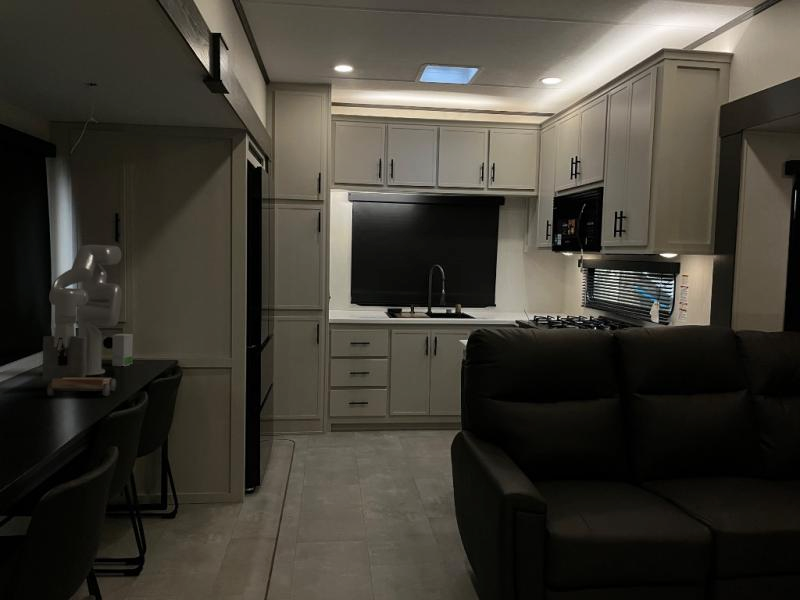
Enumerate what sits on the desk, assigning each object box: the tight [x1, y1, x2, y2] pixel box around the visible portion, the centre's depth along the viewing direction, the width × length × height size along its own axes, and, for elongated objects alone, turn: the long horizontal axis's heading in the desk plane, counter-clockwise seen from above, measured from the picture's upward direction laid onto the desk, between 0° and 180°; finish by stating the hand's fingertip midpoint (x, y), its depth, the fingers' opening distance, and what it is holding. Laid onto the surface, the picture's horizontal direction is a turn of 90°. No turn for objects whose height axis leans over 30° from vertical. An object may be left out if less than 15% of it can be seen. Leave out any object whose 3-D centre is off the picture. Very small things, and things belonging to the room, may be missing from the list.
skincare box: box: [111, 333, 134, 367], centre depth 298 cm, size 8×7×16 cm
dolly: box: [46, 376, 117, 397], centre depth 238 cm, size 14×21×7 cm, turn 102°
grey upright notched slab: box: [42, 335, 86, 381], centre depth 244 cm, size 16×4×20 cm, turn 102°
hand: (64, 363), depth 244 cm, fingers closed on grey upright notched slab, 3 cm apart
